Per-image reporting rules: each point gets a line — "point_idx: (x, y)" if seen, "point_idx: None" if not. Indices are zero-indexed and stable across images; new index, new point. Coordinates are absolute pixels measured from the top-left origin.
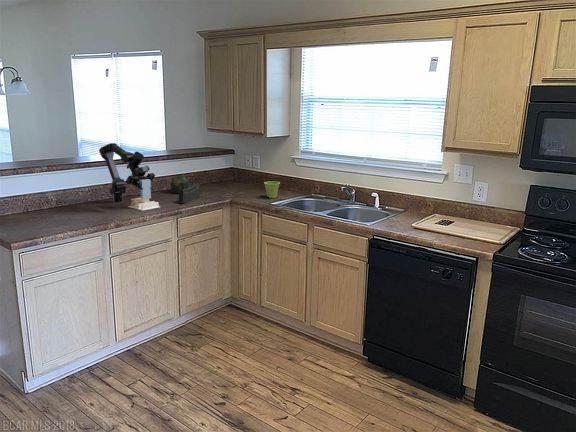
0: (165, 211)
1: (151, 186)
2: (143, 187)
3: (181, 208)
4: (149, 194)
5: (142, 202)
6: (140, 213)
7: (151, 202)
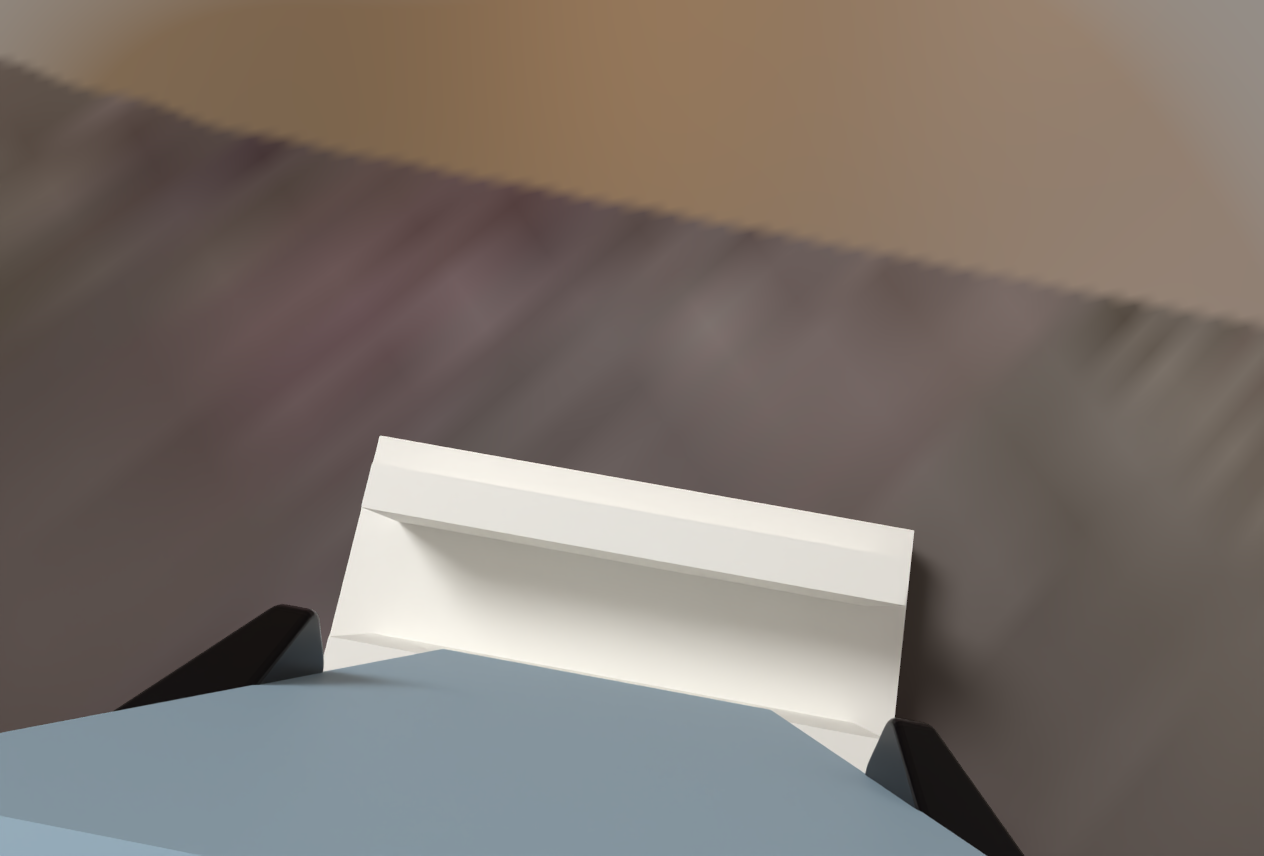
0: (526, 223)
1: (213, 646)
2: (826, 791)
3: (135, 136)
4: (472, 668)
5: None
6: (966, 527)
7: None
